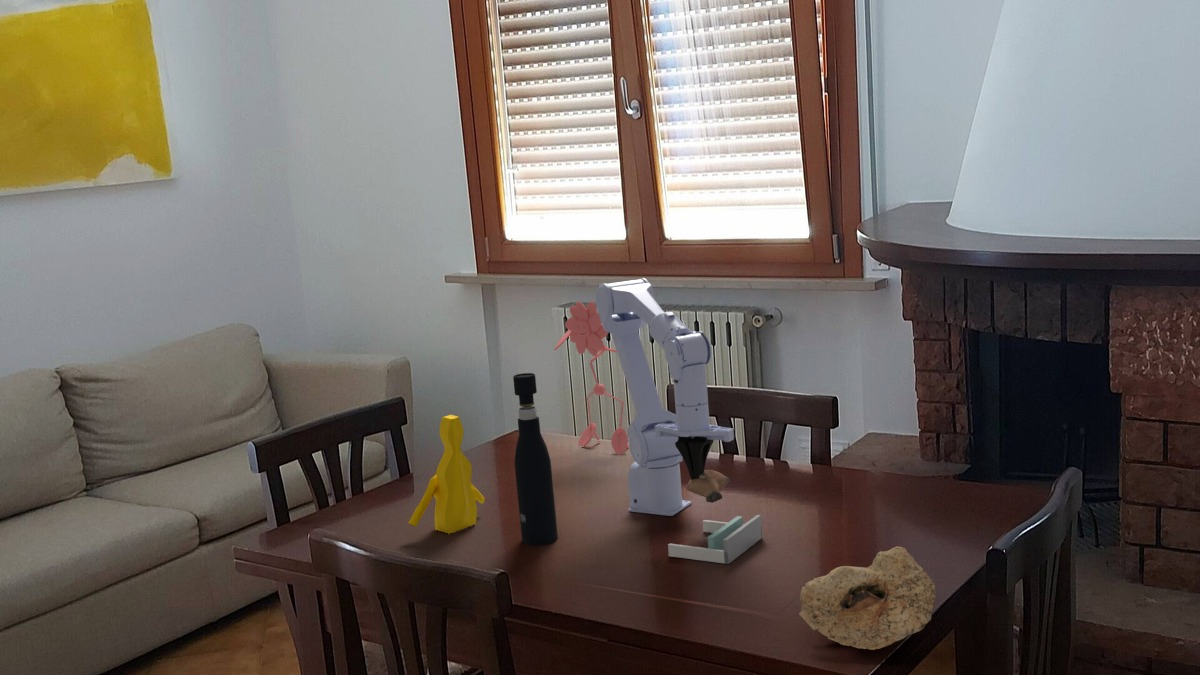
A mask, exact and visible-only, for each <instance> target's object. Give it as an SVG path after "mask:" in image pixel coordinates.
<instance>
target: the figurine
mask: <svg viewBox="0 0 1200 675" xmlns="http://www.w3.org/2000/svg"><path fill="white" fill-rule="evenodd" d="M569 313H570V315H571V317H569V318H568V319H567V320H566V321H565V323H564V326H565V329H567V331H566V332H565V333H564V334H563V335H562V336H561V338H560V339H559V341H558V342H557V344H556V345H555V347H554V348H553V350H554V351H556V350H558V349H559V348H560V347H561V346H562V345H563V344H564V343H565V342H566V341H567V340H568V338H569V339H570V342H572V343H575V347H576V351H577V352H578V354H579V355H584V354H585V351H586V350H587V352H589V354H590V355H592V356H593V358H591V359H590V362H589V366H590V368H591V372H592V375H593V377H594V380H595V383H596V384H595V385H594V386H593V390H592V392H591V393H590V394H589V395H587V396H586V403H587V410H588V419H589V425H588V426H587V427H585V429H584V430H583V432H582V433H581V435H580V437H579V440H578V444H577V446H578V445H579V446H582V447H583V446H584V448H585V447H586V446H587V445H588V444H589V443H590V442H591V441H592V439H593V437H594V436H595V439H596V441H597V440H600V437H599V435H598V434H597V432H596V429H597V425H596V423H595V422H592V416H591V410H590V401H589V398H590V397H591V396H592V395H593V394H595V395H596V396H598V397H599V396H603V395H606V396H609V397H610V398H613V399H614V400H617V401H619V402H621V408H620V419H619V427H618V428H616V429H615V430H614V432H613V434H612V436H611V440H610V443H611V446H612V450H613V451H614V452H615V454H616V455H623V453H624V452H625V450H626V449H627V448H629V438H628V434H627V430H625V429H624V428H622V422H623V413H624V412H623V411H624V400H622V399H620V398H618V397H615V395H614V396H613V395H611V394H609V393H607V392H606V386H605V385H604V384H602V383H600V382H598V379H597V375H596V372H595V369H594V368H595V367H594V366H593V363H594V362H595V360H597V359H598V357H599V356H601V355H602V354H603V353H604V352H607V351H609V352H613V353H617V350H616V348H614V349H613V348H609V347H608V346H607V345H605V343H604V341H603V339H604V338H606V337H607V335H608V334H609V332H607V331H605V330H604V328H603V325H602V323H601V320H600V317H599V313H598V310H597V307H596V303H595V302H594V301H591V300H590V301H589V303H588V304H587V307H586V306H585V305H584V304H583V303H582V302H580V301H576V303H575V305H571V306H569ZM600 441H601V440H600ZM600 441H597V442H600ZM629 449H630V448H629Z"/></svg>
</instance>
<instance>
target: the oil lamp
mask: <svg viewBox="0 0 1200 675" xmlns="http://www.w3.org/2000/svg"><path fill="white" fill-rule="evenodd" d="M730 481H731V480H730V478H729V477H728V476H726V475H724V474H723V473H721V472H719V471H717V470H714V469H704V472H703V473H702V474H701V475H700V476H699V478H698V479H693V480H691V478H690V479H689V481H688V483H687V484H686V486H685V490H686V491H689V492H691V493H693V494H695V495H698V496H701V497H704V498H705V501H706V503H710V504H711V503H717V501H720V500H722V499H723V495H722V494H721V491H722V490H724V488H725V487H726V486H727V485H729V484H730Z"/></svg>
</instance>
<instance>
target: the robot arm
mask: <svg viewBox="0 0 1200 675" xmlns="http://www.w3.org/2000/svg"><path fill="white" fill-rule="evenodd" d="M654 296H655V295H654V289H653V286H652V284H651V282H650V281H648V279H647V278H645V277H641V278H639V279H632V280H625V281H624V280H623V281H619V282H618V281H617V282H610V283H609V282H608V283H605V282H604V283H600V284H598V288H597V290H596V292H595V306H596V308H597V313H599V317H600V320H601V324H602V325H603V328H604V330H605V331H607V332H608V334H611V338H612V340H613V343H614V347H615V350H617V352H616V353H617V356H618V359H619V362H620V366H621V369H622V372H623V377H624V379H625V382H626V384H627V385H626V386H627V388H628V391H629V395H630V398H631V401H632V404H633V408H634V410H635V413H636V416H635V417H634V419H633V420H632V421H631V423H630V424H629V425H628V428H627V430H626V434H627V436H628V447H629V452H630V455H631V458H632V460H633V461H634V462H633V463H632V464H631V465H630V467H629V469H628V470H629V471H628V474H627V475H628V476H627V479H628V480H627V481H628V482H627V483H628V492H629V493H628V494H629V506H630V507H629V508H628V511H629V512H630V513H631V512H633V513H642V514H649V515H650V514H651V515H657V516H659V515H660V516H667V517H668V516H669V517H673V516H675V515H676V514H678V513H679V512H680V511H682V510H684V509H685V508H687V507H688V506H690V505H692V501H691V500H684V499H683V493H682V480H681V479H682V477H681V466H680V463H681V462H683V461H684V463H685V465H686V468H687V471H688V474H689V477H690V479H691V480H693V479H698V478H699V476H700V475H701V474H702V473H703V472H704V470H705V466H706V462H707V458H708V455H709V453H710V449H711V447H712V445H713V443H714V441H723V442H725V443H729V442H732V441H734V440H735V432H734V428H733V427H732V428H731V427H723V426H719V425H714V424H710V411H709V410H710V409H709V394H708V384H707V383H708V381H707V369H706V368H707V367H706V365H708V364H709V363H710V361H711V359H712V347H711V343H710V339H709V337H707V335H706V333H705V332H703V331H699V330H698V331H696V330H693V331H692V329H689V327H688V326H687V325H686V324H685V323H684V322H683V321H682V319H680V318H679V317H678V316H677V315H676V314H675V313H674V312H673V311H664V310H663V309H662V308H661V307H662V306H660V305H659V303H658V302H657V301H656V299H655V297H654ZM645 325H648V326H649V329H648V331H649V335H650V337H651V338H652V339H653V340H654V341H655V342H656V343H657V344H658V345H659V346H660V348H662V350H663V351H664V355H665V361H666V363H667V365H668V368H669V375H670V378H671V379H673V392H674V393H673V394H674V403H675V404H674V407H675V413H674V412H671V411H669V410H667V409H665V408H664V407H663V406H662V402H661V399H660V396H659V394H658V390H657V386H656V384H655V381H654V377H653V374H652V370H651V368H650V365H649V362H648V358H647V356H646V352H645V350H644V349H645V348H644V347H643V343H642V341H641V338H640V337H641V336H640V333H639V331H640V329H642V328H643V327H644V326H645Z"/></svg>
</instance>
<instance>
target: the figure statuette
mask: <svg viewBox="0 0 1200 675" xmlns="http://www.w3.org/2000/svg"><path fill="white" fill-rule="evenodd" d="M464 432H465V431H464V426H463V423H462V421H461V419H460V416H457V415H454V414H448V415H446V416H445V415H444V416H442V417H441V420H440V425H439V432H438V433H439V438H440V439H441V442H442V444H443V446H444V451H443V454H442V456H441V459H440V461H439V463H438V465H437V468H436V471H435V472H436V473H435V474H434V475H433V476H432V477H431V478H430V479H429V483H428V485H427V487H426V491H425V492H424V495H423V497H422V499H420V501H419V504H418V505H417V506H416V508H415V510H414V512H413V514H412V516H411V517H410V519H409V521H408V523H407V524H408V525H410V526H413V527H415V528H417V526H418V525H419V523H420V521H421V519H422V517H423V515H424V513H425V511H426V510H427V508H428V506H429V505H430V503H431V501H432V500H433V498H434V499H435V506H434V527H435V528H434V530H435V531H437V530H438V532H442V533H445V534H447V533H448V534H447V535H451V534H450V533H452V532H455V531H458V530H461V529H463V530H465V529H464V528H466V529H468V528H467V527H469V526H471V525H473V524H475V525H476V523H477V516H478V507H477V506H478V505H477V502H479V503H480V504H482V505H484V502H485V500H486V498H485V496H484V495H482V493H481V492H480V491H479V490H478V489H477V487H476V486H475V485H474V484H473V483H472V472H473V471H472V470H473V468H472V467H473V466H472V464H471V462H470V460H469V459H468V458H467V457H466V455H465V454H464V453H463V452H462V449H461V448H462V443H463V438H464ZM471 527H472V526H471ZM469 528H470V527H469ZM461 531H462V530H461ZM458 532H459V531H458ZM455 533H456V532H455Z"/></svg>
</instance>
